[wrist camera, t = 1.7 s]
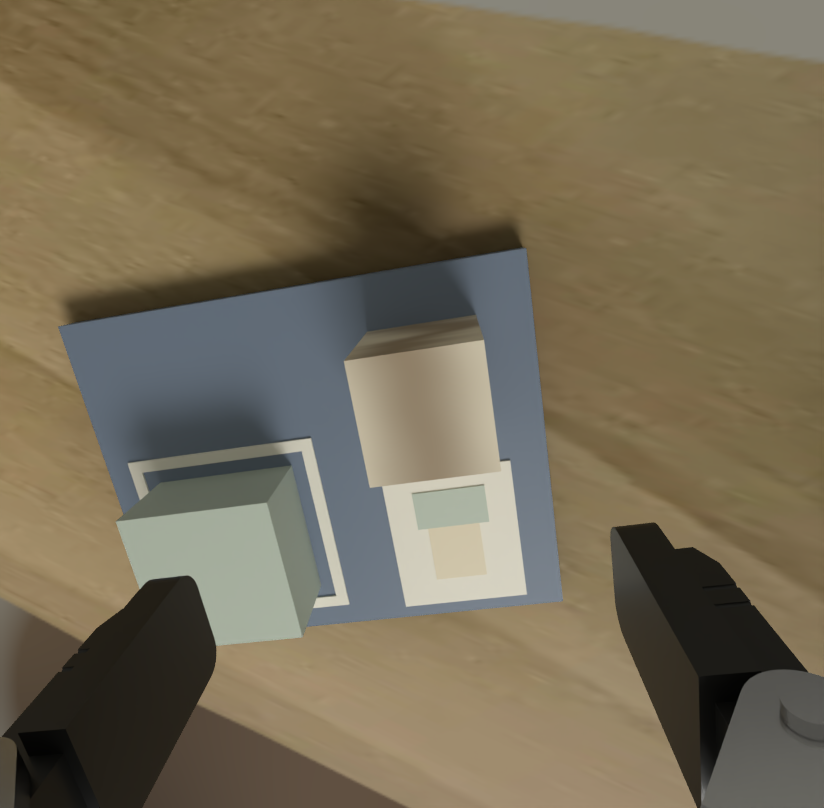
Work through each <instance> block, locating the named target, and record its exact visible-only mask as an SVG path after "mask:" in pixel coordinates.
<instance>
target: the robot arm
mask: <svg viewBox="0 0 824 808" xmlns="http://www.w3.org/2000/svg"><path fill="white" fill-rule="evenodd" d="M610 538H611V552H612V566H613V579H614V593H615V604H616V610H617V615H618V620H619V624H620V627H621V631H622V634H623V636H624V639H625V641H626V644H627V646H628V648H629V651H630V653H631V655H632V657H633V660H634V662H635V664H636V667H637V669H638V671H639V674H640V676H641V678H642V681H643V683H644V685H645V688H646V690H647V692H648V695H649V697H650V699H651V702H652V704H653V706H654V708H655V711H656V713H657V715H658V718H659V720H660V722H661V725H662V727H663V729H664V732H665V734H666V736H667V739H668V741H669V743H670V746H671V748H672V750H673V752H674V755H675V757H676V759H677V762H678V764H679V766H680V769H681V771H682V773H683V776H684V778H685V780H686V783H687V785H688V787H689V790H690V792H691V794H692V797H693V799H694V801H695V803H696V806H697V808H824V677H821V676H819V675H815V674H811V673H808V671H807V670H806V669H805V668H804V666H803V665H802V664H801V663H800V662H799V660H798V659H797V658H796V657H795V655H794V654H793V653H792V652H791V650H790V649H789V648H788V647H787V646H786V644H785V643H784V642H783V641H782V639H781V638H780V637H779V636H778V634H777V633H776V632H775V631H774V630H773V628H772V627H771V626H770V625H769V623H768V622H767V621H766V620H765V618H764V617H763V616H762V615H761V614H760V612H759V611H758V610H757V609H756V607H755V606H754V605H753V606H752V605H751V603H750V600H749V599H748V598H747V596H746V595H745V594H744V593H743V591H742V590H741V589H740V588H737V586H736V583H735V582H734V580H733V579H732V578H731V577H730V575H729V574H728V573H727V572H726V570H725V569H724V568H723V567H722V566H721V564H720V563H719V562H717V561H715V560H714V559H712V558H710V557H708V556H707V555H705V554H703V553H702V552H700V551H698V550H697V549H695V548H693V547H691V548H681V549H674V547H673V546H672V544H671V543H670V542H669V540H668V539H667V537H666V536H665V535H664V533H663V532H662V530H661V529H660V528H659V526H658V525H657V524H656V523H645V524H637V525H628V526H619V527H613V528H612V529H611V537H610ZM215 662H216V643H215V639H214V635H213V632H212V629H211V626H210V623H209V620H208V617H207V614H206V611H205V608H204V605H203V602H202V598H201V595H200V592H199V589H198V586H197V584H196V582H195V580H194V579H193V578H192V577H191V576H188V575H185V576H177V577H168V578H159V579H152V580H149V581H147V582H146V583H145V584H144V585H143V586H142V587H141V589H140V590H139V591H138V592H137V593H136V594H135V596H134V597H133V598H132V599H131V600H130V602H129V603H128V604H127V605H126V606H125V607H124V609H122V610H120V611H119V612H118V613H116V614H115V615H114V616H112V617H111V618H110V619H108V620H107V621H106V622H104V623H103V624H102V625H100V626H99V627H98V628H96V630H95V631H94V632H93V633H92V634H91V635H90V636H89V638H88V639H87V640H86V641H85V642H84V643H83V644H82V646H81V647H80V648H79V649H78V654H74V655H73V656H72V657H71V658H70V659H69V660H68V662H67V663H66V664H65V665H64V666H63V670H62V672H58V673H57V674H56V675H55V676H54V678H53V679H52V680H51V681H50V682H49V683H48V684H47V686H46V687H45V688H44V689H43V690H42V691H41V692H40V694H39V695H38V696H37V697H36V698H35V699H34V700H33V702H32V703H31V704H30V705H29V706H28V707H27V708H26V710H25V711H24V712H23V713H22V714H21V715H20V716H19V718H18V719H17V720H16V721H15V722H14V723H13V724H12V726H11V727H10V728H9V729H8V730H7V731H6V732H5V734H4V735H3V736H2V737H0V808H142V807H143V805H144V803H145V801H146V799H147V797H148V795H149V794H150V792H151V790H152V788H153V786H154V784H155V782H156V780H157V778H158V776H159V774H160V773H161V771H162V769H163V767H164V765H165V763H166V761H167V759H168V757H169V755H170V754H171V752H172V750H173V748H174V746H175V744H176V742H177V740H178V738H179V737H180V735H181V733H182V731H183V729H184V727H185V725H186V723H187V721H188V719H189V717H190V715H191V714H192V712H193V710H194V708H195V706H196V704H197V702H198V701H199V699H200V697H201V695H202V693H203V691H204V689H205V687H206V685H207V683H208V682H209V680H210V678H211V676H212V673H213V671H214V667H215Z"/></svg>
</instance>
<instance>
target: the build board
mask: <svg viewBox="0 0 824 808" xmlns="http://www.w3.org/2000/svg"><path fill="white" fill-rule="evenodd" d="M471 315H476V316H477V319H478V323H479V326H480V329H481V332H482V335H483V338H484V344H485V351H486V359H487V366H488V374H489V382H490V389H491V397H492V405H493V412H494V420H495V428H496V435H497V443H498V451H499V458H500V466H501V471H500V472H492V473H484V474H476V475H468V476H460V477H452V478H445V479H437V480H429V481H421V482H413V483H405V484H397V485H389V486H381V487H373V488H370V486H369V481H368V477H367V472H366V467H365V462H364V457H363V452H362V447H361V443H360V438H359V433H358V428H357V423H356V418H355V413H354V409H353V404H352V399H351V394H350V389H349V384H348V379H347V374H346V370H345V365H344V360H345V359H346V358H347V356H348V355H349V354H350V353H351V351H352V350H353V349H354V348H355V346H356V345H357V344H358V343H359V341H360V340H361V339H362V338H363V336H364V335H365V334H366V333H367V332H369V331H375V330H381V329H388V328H394V327H400V326H407V325H413V324H420V323H426V322H432V321H439V320H445V319H452V318H458V317H464V316H471ZM58 328H59V331H60V334H61V336H62V339H63V342H64V345H65V348H66V351H67V354H68V356H69V359H70V362H71V365H72V368H73V371H74V374H75V376H76V379H77V382H78V385H79V388H80V391H81V394H82V396H83V399H84V402H85V405H86V408H87V411H88V414H89V417H90V419H91V422H92V425H93V428H94V431H95V434H96V437H97V439H98V442H99V445H100V448H101V451H102V454H103V457H104V459H105V462H106V465H107V468H108V471H109V474H110V477H111V480H112V482H113V485H114V488H115V491H116V494H117V497H118V500H119V502H120V505H121V508H122V511H123V514H125V513H126V512H127V511H128V510H130V509H131V508H132V507H133V506H134V505H135V504H136V503H138V502H139V501H140V500H141V499H142V498H143V497H144V496H146V495H147V494H148V493H149V492H150V491H151V490H152V489H153V488H155V487H156V486H157V485H158V484H159V483H162V482H169V481H177V480H184V479H192V478H200V477H207V476H215V475H222V474H230V473H237V472H245V471H253V470H260V469H268V468H275V467H283V466H290V465H292V469H293V473H294V477H295V481H296V485H297V489H298V493H299V497H300V501H301V505H302V509H303V513H304V517H305V521H306V525H307V530H308V534H309V538H310V542H311V546H312V550H313V554H314V558H315V562H316V566H317V570H318V574H319V578H320V582H321V587H320V590H319V593H318V596H317V598H316V601H315V604H314V607H313V610H312V612H311V615H310V618H309V621H308V624H307V626H306V627H309V626H319V625H329V624H339V623H349V622H359V621H369V620H379V619H389V618H399V617H409V616H419V615H429V614H439V613H449V612H459V611H469V610H479V609H489V608H499V607H509V606H519V605H529V604H539V603H549V602H559V601H563V598H562V588H561V578H560V569H559V559H558V549H557V540H556V530H555V521H554V511H553V501H552V492H551V482H550V473H549V463H548V453H547V444H546V434H545V425H544V415H543V405H542V396H541V386H540V376H539V367H538V357H537V348H536V338H535V328H534V319H533V309H532V300H531V290H530V280H529V271H528V261H527V251H526V248H523V247H522V248H516V249H510V250H504V251H498V252H492V253H486V254H480V255H474V256H468V257H462V258H456V259H450V260H444V261H438V262H432V263H426V264H420V265H414V266H408V267H403V268H397V269H391V270H385V271H379V272H373V273H367V274H361V275H355V276H349V277H343V278H337V279H331V280H325V281H319V282H313V283H307V284H301V285H295V286H289V287H284V288H278V289H272V290H266V291H260V292H254V293H248V294H242V295H236V296H230V297H224V298H218V299H212V300H206V301H200V302H194V303H188V304H182V305H176V306H170V307H164V308H159V309H153V310H147V311H141V312H135V313H129V314H123V315H117V316H111V317H105V318H99V319H93V320H87V321H81V322H75V323H71V324H67V325H63V326H59V327H58Z"/></svg>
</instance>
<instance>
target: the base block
mask: <svg viewBox="0 0 824 808" xmlns="http://www.w3.org/2000/svg"><path fill="white" fill-rule="evenodd" d="M116 524H117V526H118V529H119V532H120V535H121V538H122V541H123V543H124V546H125V549H126V552H127V555H128V557H129V560H130V563H131V566H132V569H133V571H134V574H135V577H136V580H137V583H138V586H139V588H140V589H141V587H142V586H143V585H144V584H145V583H146V582H147V581H149V580H152V579H159V578H168V577H177V576H185V575H188V576H191V577H192V578H193V579H194V580H195V582H196V584H197V586H198V589H199V592H200V595H201V598H202V602H203V605H204V608H205V611H206V614H207V617H208V620H209V623H210V626H211V629H212V632H213V635H214V639H215V643H216V646H218V645H229V644H239V643H249V642H259V641H269V640H280V639H290V638H300V637H303V635H304V632H305V629H306V626H307V624H308V621H309V618H310V615H311V612H312V610H313V607H314V604H315V601H316V598H317V596H318V593H319V590H320V587H321V582H320V578H319V574H318V570H317V566H316V562H315V558H314V554H313V550H312V546H311V542H310V538H309V534H308V530H307V525H306V521H305V517H304V513H303V509H302V505H301V501H300V497H299V493H298V489H297V485H296V481H295V477H294V473H293V469H292V465H290V466H283V467H275V468H268V469H260V470H253V471H245V472H237V473H230V474H222V475H215V476H207V477H200V478H192V479H184V480H177V481H169V482H162V483H159V484H158V485H157V486H156V487H155V488H153V489H152V490H151V491H150V492H149V493H148V494H147V495H146V496H144V497H143V498H142V499H141V500H140V501H139V502H138V503H136V504H135V505H134V506H133V507H132V508H131V509H130V510H128V511H127V512H126V513H125V514H124V515H123V516H122V517H120V518H119V519H118V520H117V521H116Z"/></svg>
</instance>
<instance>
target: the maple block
mask: <svg viewBox="0 0 824 808" xmlns="http://www.w3.org/2000/svg"><path fill="white" fill-rule="evenodd" d="M344 365H345V370H346V374H347V379H348V384H349V389H350V394H351V399H352V404H353V409H354V413H355V418H356V423H357V428H358V433H359V438H360V443H361V447H362V452H363V457H364V462H365V467H366V472H367V477H368V481H369V486H370V488H373V487H381V486H389V485H397V484H405V483H413V482H421V481H429V480H437V479H445V478H452V477H460V476H468V475H476V474H484V473H492V472H500V471H501V466H500V458H499V451H498V443H497V435H496V428H495V420H494V412H493V405H492V397H491V389H490V382H489V374H488V366H487V359H486V351H485V344H484V338H483V335H482V332H481V329H480V326H479V323H478V319H477V316H476V315H471V316H464V317H458V318H452V319H445V320H439V321H432V322H426V323H420V324H413V325H407V326H400V327H394V328H388V329H381V330H375V331H369V332H367V333H366V334H365V335H364V336H363V338H362V339H361V340H360V341H359V343H358V344H357V345H356V346H355V348H354V349H353V350H352V351H351V353H350V354H349V355H348V356H347V358H346V359H345V360H344Z"/></svg>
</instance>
